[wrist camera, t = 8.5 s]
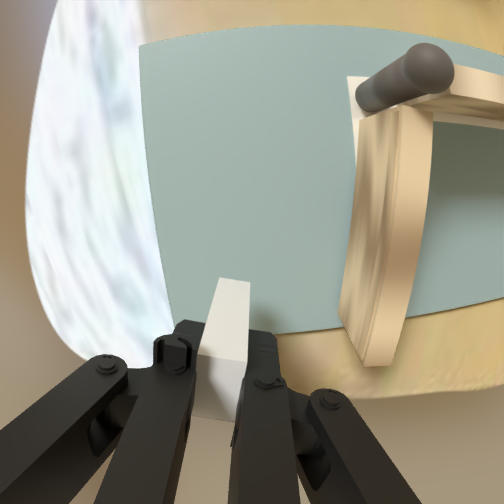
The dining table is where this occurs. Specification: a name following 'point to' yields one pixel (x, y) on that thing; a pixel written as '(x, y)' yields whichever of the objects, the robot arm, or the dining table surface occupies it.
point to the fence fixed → (433, 86)
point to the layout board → (303, 172)
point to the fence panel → (385, 229)
